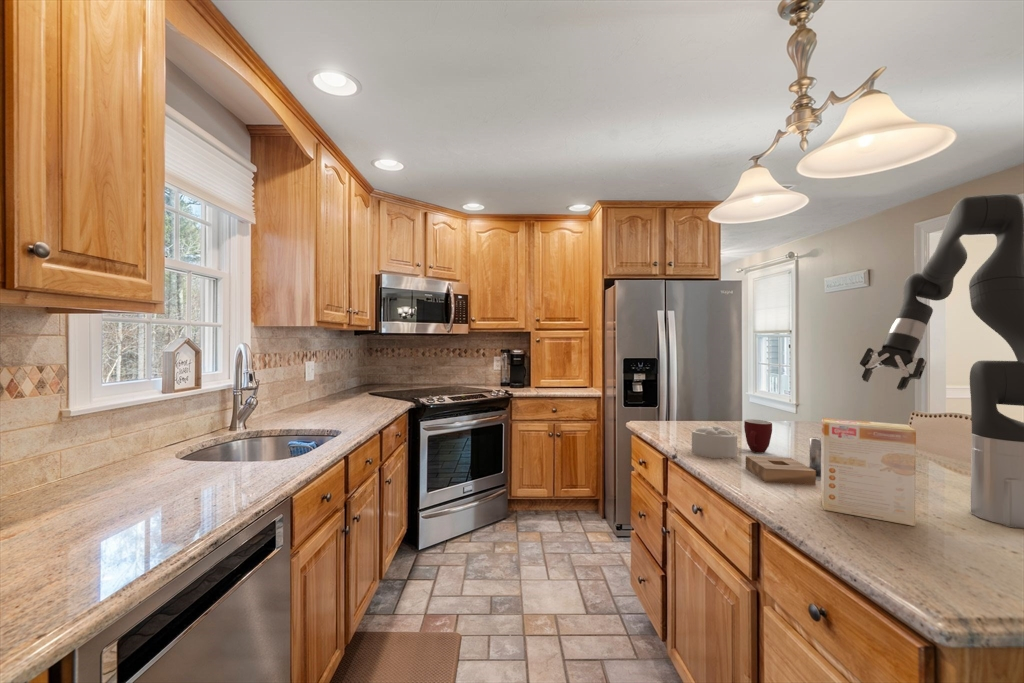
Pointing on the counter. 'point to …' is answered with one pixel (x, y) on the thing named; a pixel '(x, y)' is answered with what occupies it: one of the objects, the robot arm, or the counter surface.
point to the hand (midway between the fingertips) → (881, 385)
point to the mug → (758, 434)
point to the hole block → (780, 470)
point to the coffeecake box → (869, 469)
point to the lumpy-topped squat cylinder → (714, 442)
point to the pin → (815, 455)
